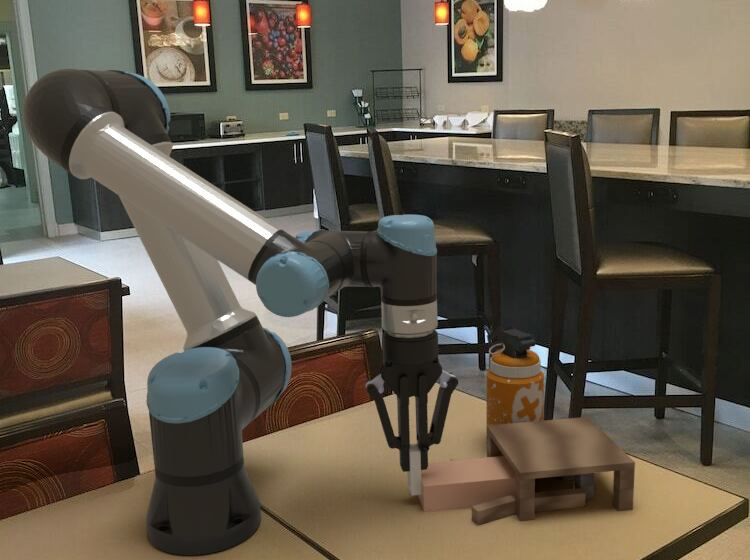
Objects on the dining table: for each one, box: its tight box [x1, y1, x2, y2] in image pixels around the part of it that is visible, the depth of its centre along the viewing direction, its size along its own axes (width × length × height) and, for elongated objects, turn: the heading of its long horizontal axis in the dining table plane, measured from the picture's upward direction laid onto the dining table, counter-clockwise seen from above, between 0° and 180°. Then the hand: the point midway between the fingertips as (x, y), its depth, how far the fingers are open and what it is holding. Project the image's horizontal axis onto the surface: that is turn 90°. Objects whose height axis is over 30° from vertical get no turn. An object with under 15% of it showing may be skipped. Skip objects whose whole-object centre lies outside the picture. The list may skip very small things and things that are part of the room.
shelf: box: [449, 416, 636, 526], centre depth 114 cm, size 22×16×7 cm
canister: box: [485, 324, 545, 445], centre depth 127 cm, size 9×11×20 cm
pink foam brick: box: [417, 456, 516, 513], centre depth 113 cm, size 14×7×4 cm, turn 98°
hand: (414, 490), depth 112 cm, fingers closed
